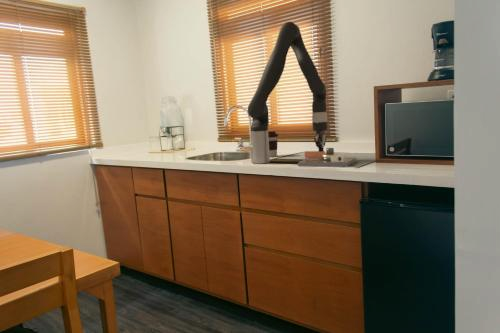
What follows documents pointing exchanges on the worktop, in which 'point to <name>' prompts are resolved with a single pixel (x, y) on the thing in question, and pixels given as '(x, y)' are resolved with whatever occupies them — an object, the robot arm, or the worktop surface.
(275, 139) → the coffee cup
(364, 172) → the worktop surface
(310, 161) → the stand base
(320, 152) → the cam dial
